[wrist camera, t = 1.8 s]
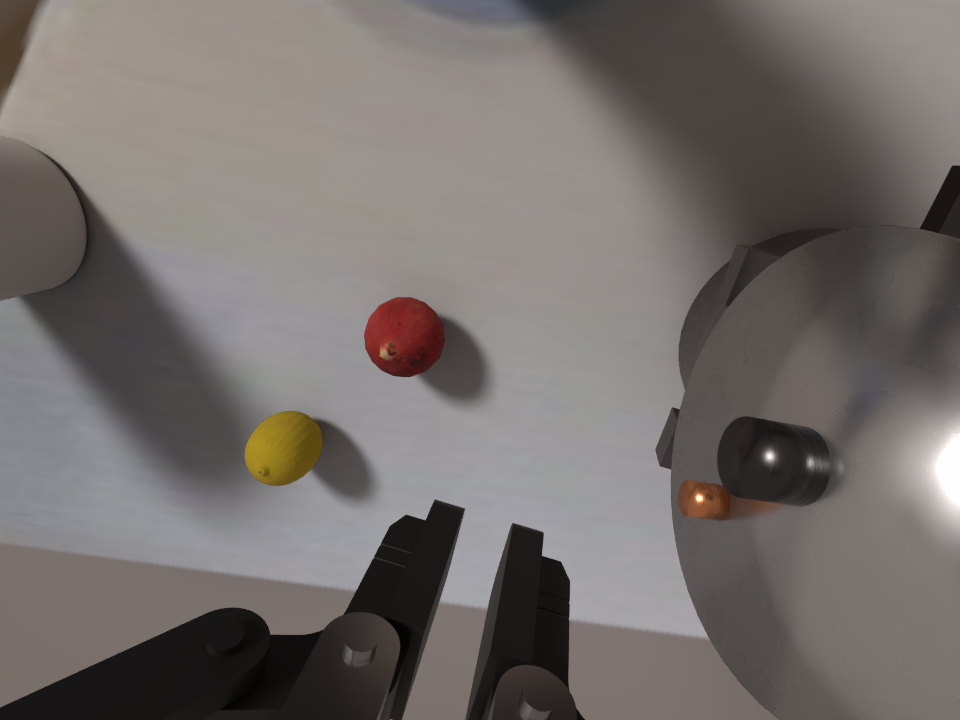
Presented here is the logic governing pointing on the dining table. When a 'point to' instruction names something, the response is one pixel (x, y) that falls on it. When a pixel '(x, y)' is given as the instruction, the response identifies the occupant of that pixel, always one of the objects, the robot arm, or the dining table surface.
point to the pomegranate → (404, 337)
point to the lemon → (283, 448)
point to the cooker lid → (831, 479)
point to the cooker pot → (950, 214)
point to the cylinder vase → (36, 222)
